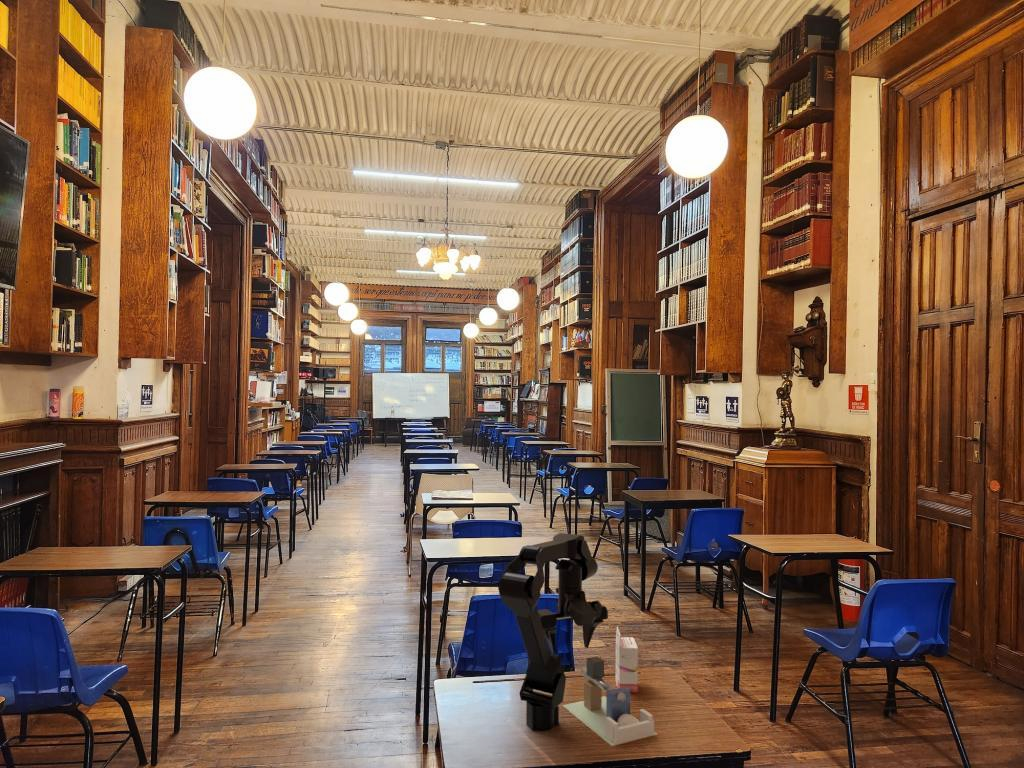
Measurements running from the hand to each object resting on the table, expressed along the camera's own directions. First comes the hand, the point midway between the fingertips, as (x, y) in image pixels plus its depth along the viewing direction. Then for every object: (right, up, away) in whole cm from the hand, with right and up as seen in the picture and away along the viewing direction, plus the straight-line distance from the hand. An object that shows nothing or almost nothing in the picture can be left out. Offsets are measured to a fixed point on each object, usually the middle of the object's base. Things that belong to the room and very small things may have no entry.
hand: (570, 650), depth 162 cm
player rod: (+7, -11, -8) cm, 15 cm away
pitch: (+8, -13, -10) cm, 18 cm away
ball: (+11, -10, -17) cm, 22 cm away
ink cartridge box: (+15, -14, +9) cm, 22 cm away
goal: (+11, -12, -17) cm, 24 cm away
